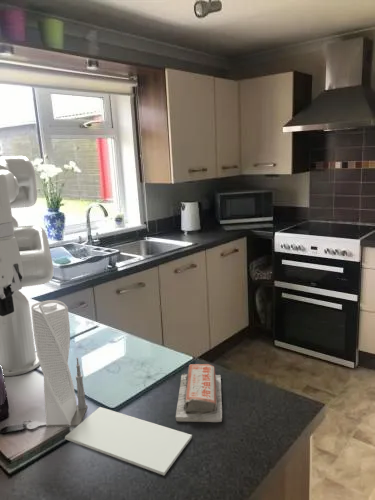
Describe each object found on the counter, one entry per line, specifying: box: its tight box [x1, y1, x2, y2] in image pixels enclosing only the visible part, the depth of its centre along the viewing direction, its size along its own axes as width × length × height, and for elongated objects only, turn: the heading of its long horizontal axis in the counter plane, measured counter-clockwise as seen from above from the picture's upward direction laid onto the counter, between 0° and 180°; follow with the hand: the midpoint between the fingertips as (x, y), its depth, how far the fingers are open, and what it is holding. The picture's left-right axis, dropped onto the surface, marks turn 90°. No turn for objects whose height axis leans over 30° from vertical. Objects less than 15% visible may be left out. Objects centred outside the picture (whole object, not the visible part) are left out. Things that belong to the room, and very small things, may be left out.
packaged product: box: [175, 363, 223, 423], centre depth 95 cm, size 18×5×10 cm
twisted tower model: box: [30, 299, 88, 428], centre depth 86 cm, size 8×8×28 cm
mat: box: [64, 406, 193, 476], centre depth 83 cm, size 23×11×1 cm, turn 63°
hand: (5, 313), depth 91 cm, fingers closed
